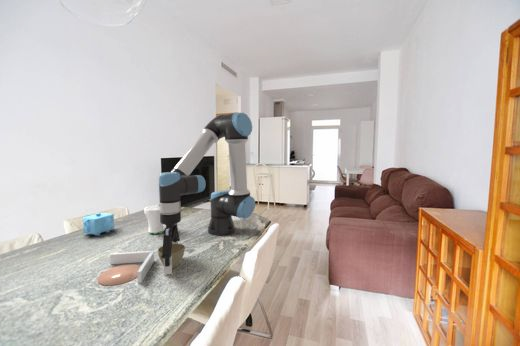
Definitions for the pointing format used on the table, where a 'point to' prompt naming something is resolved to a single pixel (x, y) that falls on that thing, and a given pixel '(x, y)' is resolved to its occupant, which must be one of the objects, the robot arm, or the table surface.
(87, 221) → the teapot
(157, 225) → the cup
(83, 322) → the table surface
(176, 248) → the flower pot
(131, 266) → the coaster
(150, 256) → the acrylic walls
